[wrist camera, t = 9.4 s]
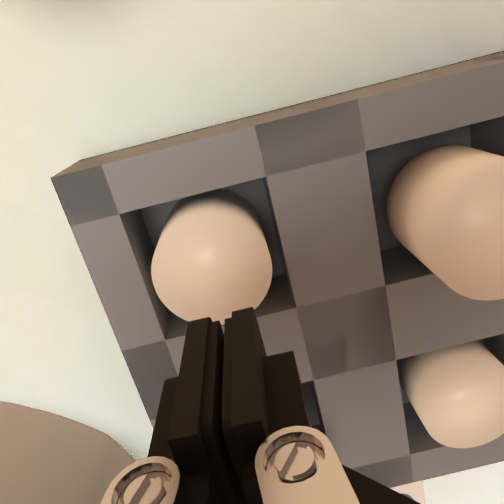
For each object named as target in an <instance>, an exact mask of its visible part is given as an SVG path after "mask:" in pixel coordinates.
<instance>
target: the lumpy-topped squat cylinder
mask: <svg viewBox="0 0 504 504" xmlns="http://www.w3.org/2000/svg"><path fill="white" fill-rule="evenodd" d="M134 462H136V461H135V460H134V459H133V458H132V457H131V456H130V455H129V454H128V453H127V452H126V451H125V450H124V449H123V448H122V447H121V446H120V445H119V444H118V443H117V442H116V441H114V440H113V439H112V438H111V437H110V436H108V435H106V434H105V433H103V432H101V431H99V430H96V429H94V428H92V427H89V426H87V425H84V424H82V423H79V422H76V421H74V420H71V419H68V418H65V417H62V416H59V415H56V414H53V413H49V412H46V411H42V410H38V409H33V408H29V407H26V406H22V405H18V404H14V403H8V402H0V504H100V503H101V501H102V499H103V497H104V494H105V492H106V490H107V489H108V487H109V485H110V484H111V482H112V480H113V479H114V478H115V477H116V476H117V475H118V474H119V473H120V472H121V471H122V470H123V469H125V468H126V467H128V466H129V465H130V464H132V463H134Z"/></svg>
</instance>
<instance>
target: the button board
mask: <svg viewBox="0 0 504 504" xmlns="http://www.w3.org/2000/svg"><path fill="white" fill-rule="evenodd" d="M445 144H457V145H463V146H467V147H471V148H475V149H478V150H482V151H485V152H489V153H492V154H496V155H500V156H503V157H504V51H501V52H498V53H494V54H490V55H486V56H482V57H478V58H474V59H470V60H467V61H463V62H459V63H455V64H451V65H447V66H443V67H439V68H436V69H432V70H428V71H424V72H420V73H416V74H412V75H408V76H405V77H401V78H397V79H393V80H389V81H385V82H381V83H377V84H374V85H370V86H366V87H362V88H358V89H354V90H350V91H346V92H342V93H339V94H335V95H331V96H327V97H323V98H319V99H315V100H311V101H308V102H304V103H300V104H296V105H292V106H288V107H284V108H280V109H277V110H273V111H269V112H265V113H261V114H257V115H253V116H249V117H246V118H242V119H238V120H234V121H230V122H226V123H222V124H218V125H215V126H211V127H207V128H203V129H199V130H195V131H191V132H187V133H184V134H180V135H176V136H172V137H168V138H164V139H160V140H156V141H153V142H149V143H145V144H141V145H137V146H133V147H129V148H125V149H121V150H118V151H114V152H110V153H106V154H102V155H98V156H94V157H90V158H87V159H83V160H80V161H78V162H76V163H75V164H73V165H71V166H70V167H68V168H66V169H65V170H63V171H61V172H60V173H58V174H56V175H55V176H53V177H52V178H51V180H52V183H53V185H54V188H55V190H56V192H57V195H58V197H59V200H60V202H61V205H62V207H63V210H64V212H65V214H66V217H67V219H68V222H69V224H70V227H71V229H72V231H73V234H74V236H75V239H76V241H77V244H78V246H79V248H80V251H81V253H82V256H83V258H84V261H85V263H86V266H87V268H88V270H89V273H90V275H91V278H92V280H93V283H94V285H95V287H96V290H97V292H98V295H99V297H100V300H101V302H102V304H103V307H104V309H105V312H106V314H107V317H108V319H109V322H110V324H111V326H112V329H113V331H114V334H115V336H116V339H117V341H118V343H119V346H120V348H121V351H122V353H123V356H124V358H125V360H126V363H127V365H128V368H129V370H130V373H131V375H132V378H133V380H134V382H135V385H136V387H137V390H138V392H139V395H140V397H141V399H142V402H143V404H144V407H145V409H146V412H147V414H148V416H149V419H150V421H151V424H152V426H153V429H154V426H155V421H156V416H157V412H158V407H159V403H160V398H161V393H162V389H163V384H164V382H165V380H166V379H168V378H173V377H177V376H179V370H180V365H181V359H182V353H183V347H184V342H185V336H186V330H187V324H188V322H189V321H186V320H184V319H182V318H180V317H178V316H177V315H175V314H174V313H173V312H171V311H170V310H169V309H168V308H167V307H166V306H165V305H164V304H163V302H162V301H161V300H160V298H159V297H158V295H157V293H156V291H155V288H154V285H153V282H152V275H151V265H152V259H153V255H154V252H155V249H156V247H157V244H158V241H159V238H160V235H161V233H162V230H163V227H164V224H165V222H166V219H167V217H168V215H169V213H170V211H171V210H172V208H173V207H174V206H175V204H176V203H177V202H178V201H180V200H181V199H182V198H184V197H188V196H192V195H196V194H200V193H204V192H208V191H212V190H216V189H223V190H227V191H230V192H233V193H235V194H237V195H239V196H240V197H242V198H243V199H245V200H246V201H247V202H248V203H249V204H250V205H251V206H252V207H253V209H254V210H255V212H256V213H257V215H258V217H259V220H260V223H261V226H262V229H263V233H264V236H265V240H266V243H267V246H268V250H269V253H270V257H271V261H272V280H271V284H270V287H269V290H268V292H267V294H266V296H265V298H264V299H263V301H262V302H261V303H260V305H259V306H258V307H257V308H256V309H255V310H254V311H255V314H256V318H257V322H258V325H259V329H260V333H261V336H262V340H263V344H264V347H265V351H266V355H267V356H271V355H275V354H279V353H284V352H288V351H293V352H294V356H295V360H296V364H297V368H298V372H299V376H300V380H301V384H302V388H303V393H304V397H305V401H306V406H307V410H308V415H309V420H310V423H311V426H312V428H314V429H317V430H319V431H320V432H322V433H323V434H325V435H326V437H327V438H328V439H329V441H330V442H331V444H332V446H333V448H334V450H335V452H336V454H337V456H338V458H339V460H340V463H341V464H342V465H344V466H346V467H348V468H350V469H352V470H354V471H356V472H358V473H360V474H362V475H364V476H366V477H368V478H370V479H372V480H374V481H376V482H378V483H380V484H382V485H384V486H386V487H388V488H392V487H397V486H401V485H405V484H409V483H413V482H417V481H422V480H426V479H430V478H434V477H438V476H443V475H447V474H451V473H455V472H459V471H463V470H468V469H472V468H476V467H480V466H484V465H489V464H493V463H497V462H501V461H504V433H503V434H502V435H501V436H499V437H498V438H496V439H495V440H493V441H491V442H489V443H486V444H484V445H481V446H477V447H472V448H452V447H448V446H445V445H442V444H440V443H439V442H437V441H436V440H434V439H433V438H432V437H431V436H430V435H429V433H428V431H427V430H426V428H425V426H424V425H423V423H422V421H421V420H420V418H419V416H418V415H417V413H416V411H415V410H414V408H413V406H412V404H411V403H410V401H409V399H408V398H407V396H406V394H405V393H404V391H403V389H402V388H401V386H400V382H399V375H398V369H397V362H396V360H398V359H402V358H406V357H411V356H415V355H419V354H423V353H427V352H431V351H435V350H439V349H443V348H447V347H451V346H455V345H460V344H464V343H468V342H472V341H476V340H479V341H480V342H481V343H482V344H483V345H484V346H485V347H486V348H487V349H488V350H489V351H490V352H491V353H492V354H493V355H494V356H495V357H496V358H497V359H498V360H499V361H500V362H501V363H502V364H503V365H504V299H499V300H490V301H485V300H475V299H471V298H468V297H464V296H462V295H460V294H458V293H456V292H455V291H453V290H452V289H451V288H449V287H448V286H447V285H446V284H445V283H444V282H443V281H442V280H441V279H440V278H438V277H437V276H436V275H435V274H434V273H433V272H432V271H431V270H430V269H429V268H427V267H426V266H425V265H424V264H423V263H422V262H421V261H420V260H419V259H418V258H416V257H415V256H414V255H413V254H412V253H411V252H410V251H409V250H408V249H407V248H405V247H404V246H403V245H402V244H401V243H400V242H399V241H398V240H397V239H396V237H395V236H394V235H393V233H392V231H391V229H390V226H389V224H388V220H387V212H386V206H387V198H388V194H389V191H390V187H391V185H392V183H393V181H394V179H395V178H396V176H397V174H398V173H399V172H400V170H401V169H402V168H403V167H404V166H405V165H406V164H407V163H408V162H409V161H410V160H411V159H412V158H414V157H415V156H416V155H418V154H420V153H421V152H423V151H425V150H427V149H429V148H432V147H436V146H440V145H445ZM224 325H225V324H224ZM224 325H221V326H222V329H223V333H224Z"/></svg>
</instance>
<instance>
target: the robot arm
mask: <svg viewBox="0 0 504 504" xmlns="http://www.w3.org/2000/svg"><path fill="white" fill-rule="evenodd" d="M100 504H420V503H418V502H416V501H414V500H412V499H410V498H408V497H406V496H404V495H402V494H400V493H398V492H396V491H394V490H392V489H390V488H388V487H386V486H384V485H382V484H380V483H378V482H376V481H374V480H372V479H370V478H368V477H366V476H364V475H362V474H360V473H358V472H356V471H354V470H352V469H350V468H348V467H346V466H344V465H342V464H341V463H340V460H339V458H338V456H337V454H336V452H335V450H334V448H333V446H332V444H331V442H330V441H329V439H328V438H327V437H326V435H325V434H323V433H322V432H320V431H319V430H317V429H314V428H311V424H310V420H309V415H308V410H307V406H306V401H305V397H304V393H303V388H302V384H301V380H300V376H299V372H298V368H297V364H296V360H295V356H294V352H293V351H288V352H284V353H279V354H275V355H271V356H267V355H266V351H265V347H264V344H263V340H262V336H261V333H260V329H259V325H258V322H257V318H256V314H255V311H254V308H253V307H250V308H245V309H241V310H237V311H232V317H231V318H227V319H225V325H224V333H223V329H222V326H221V323H220V321H219V320H218V321H214V322H212V320H211V318H210V317H206V318H202V319H198V320H193V321H189V322H188V324H187V330H186V336H185V342H184V347H183V353H182V359H181V365H180V370H179V376H177V377H173V378H168V379H166V380H165V382H164V384H163V389H162V393H161V398H160V403H159V407H158V412H157V416H156V421H155V426H154V430H153V435H152V440H151V444H150V449H149V453H148V457H147V458H143V459H141V460H138V461H136V462H134V463H132V464H130V465H129V466H128V467H126V468H125V469H123V470H122V471H121V472H120V473H119V474H118V475H117V476H116V477H115V478H114V479H113V480H112V482H111V484H110V485H109V487H108V489H107V490H106V492H105V494H104V497H103V499H102V501H101V503H100Z"/></svg>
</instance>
